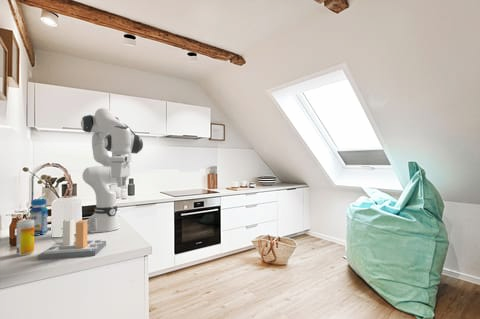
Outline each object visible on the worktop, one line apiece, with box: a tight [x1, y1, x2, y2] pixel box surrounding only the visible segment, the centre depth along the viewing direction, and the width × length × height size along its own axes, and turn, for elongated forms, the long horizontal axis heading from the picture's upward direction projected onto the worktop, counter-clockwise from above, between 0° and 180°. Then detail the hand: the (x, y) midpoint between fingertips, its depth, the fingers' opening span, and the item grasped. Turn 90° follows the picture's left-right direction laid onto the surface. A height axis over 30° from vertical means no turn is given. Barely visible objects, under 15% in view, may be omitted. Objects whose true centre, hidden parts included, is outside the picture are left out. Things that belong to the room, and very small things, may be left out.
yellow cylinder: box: [16, 218, 35, 257], centre depth 114 cm, size 6×6×15 cm
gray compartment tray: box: [37, 218, 107, 260], centre depth 116 cm, size 22×15×14 cm
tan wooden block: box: [75, 219, 88, 249], centre depth 114 cm, size 3×5×12 cm, turn 12°
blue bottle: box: [28, 198, 49, 236], centre depth 146 cm, size 8×8×20 cm
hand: (121, 186), depth 126 cm, fingers open, 6 cm apart
